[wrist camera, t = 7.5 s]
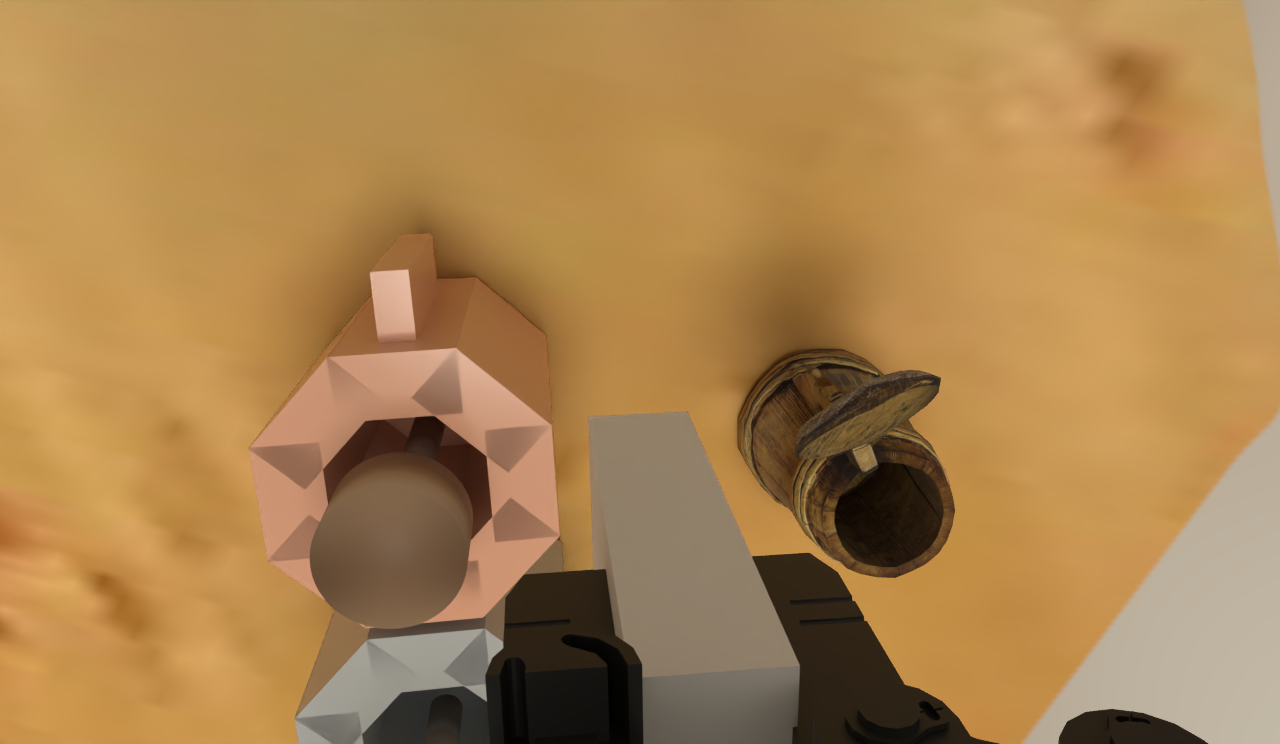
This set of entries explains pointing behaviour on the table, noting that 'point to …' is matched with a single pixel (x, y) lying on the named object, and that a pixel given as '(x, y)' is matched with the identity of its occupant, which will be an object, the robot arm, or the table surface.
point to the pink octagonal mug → (415, 387)
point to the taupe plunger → (395, 536)
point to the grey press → (404, 676)
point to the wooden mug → (850, 459)
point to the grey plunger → (444, 720)
